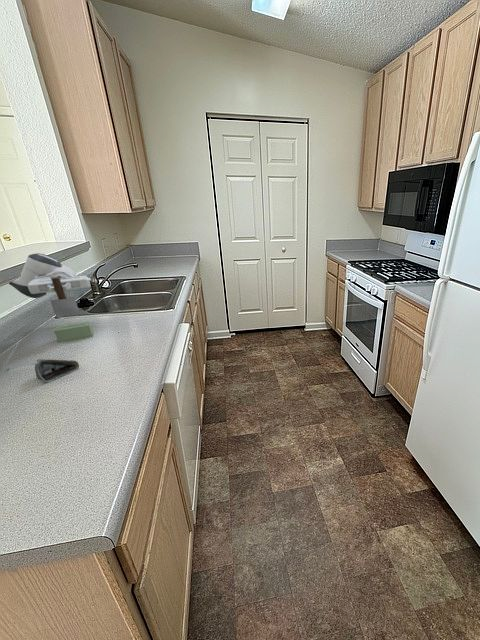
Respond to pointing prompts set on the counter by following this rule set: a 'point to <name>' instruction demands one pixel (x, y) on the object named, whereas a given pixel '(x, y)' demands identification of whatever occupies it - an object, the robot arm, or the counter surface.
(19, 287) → the robot arm
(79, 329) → the stand
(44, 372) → the dark grey triangular holder
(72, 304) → the cake cutter
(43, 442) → the counter surface
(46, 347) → the counter surface
